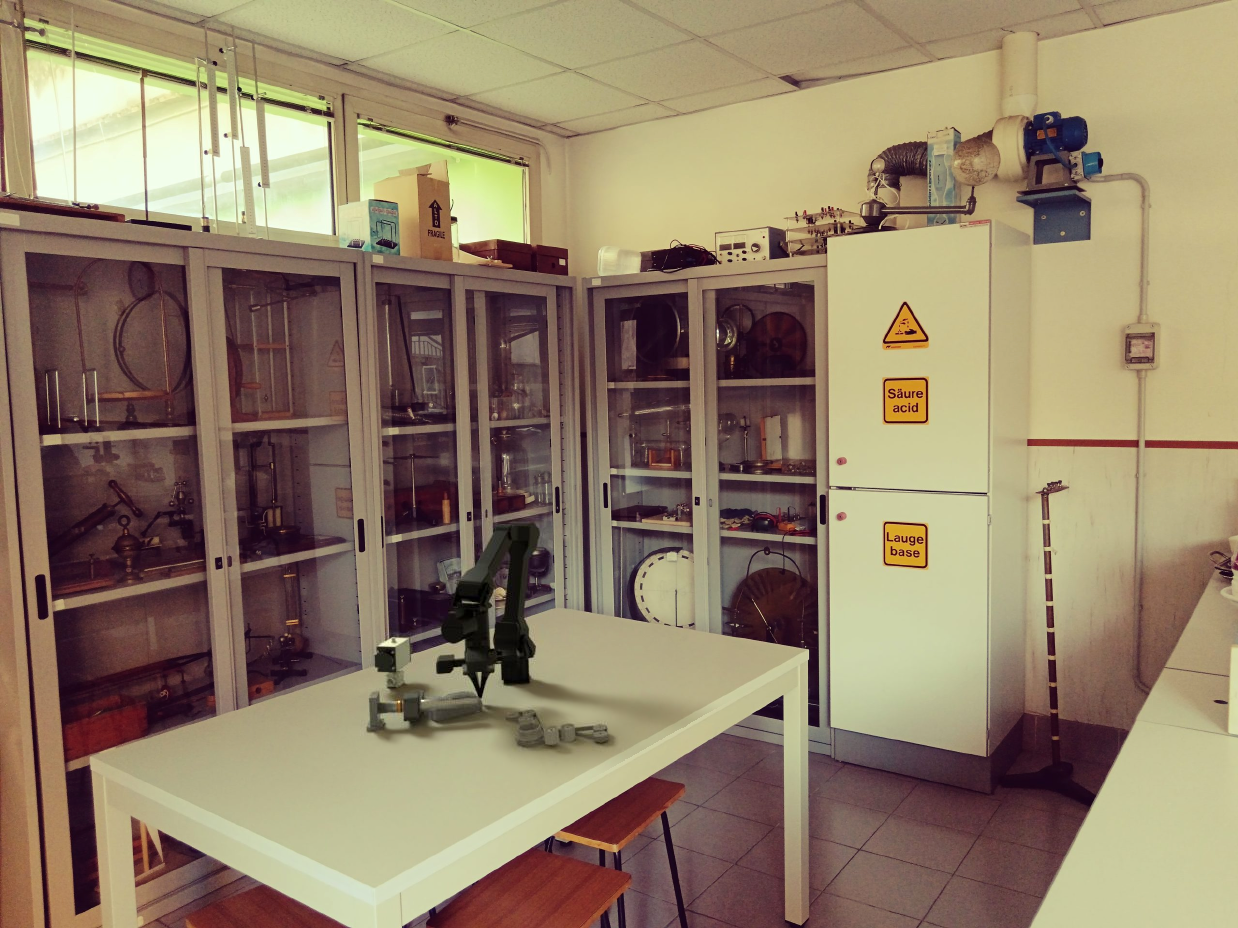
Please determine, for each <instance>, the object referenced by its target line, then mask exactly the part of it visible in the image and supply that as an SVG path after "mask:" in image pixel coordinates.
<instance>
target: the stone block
mask: <svg viewBox="0 0 1238 928" xmlns="http://www.w3.org/2000/svg"><path fill="white" fill-rule="evenodd" d="M474 696H477V697H478V695H477V693H475V692H473V691H470V690H463V691H457V692H451V693H447V694H446V695H444V696H440V695H439V696H431V697H430V696H429V697H428V696H427V697H424V698H425V699H424V700H426V699H442V698H458V697H474ZM483 707H484V705H483V700H482V699H480V698H479V697H478V708H464V709H448V710H433V711H422V712H423V715H425V716H427V717H428V718H429V719H431V720H432V721H433V722H437V721H444V720H449V719H453V718H459V717H463V716H468V715H473V714H476V713H480V712H482V709H483Z"/></svg>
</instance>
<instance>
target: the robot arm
mask: <svg viewBox="0 0 1238 928" xmlns="http://www.w3.org/2000/svg"><path fill="white" fill-rule="evenodd" d="M540 534H541V532H540V527H538V526H537V525H536V523H535V522H534V521H533V522H529V521H510V522H509V523H508V524H501V523H500V524H496V525H494V528H493V530H492V535H491V537H490V539H489V540H488V542H487V544H486V546H485V548H484V550H483V551H482V553H481V554H480V557H479V559H478V560H477V562H476V563H475V565H474V566H473V567H472V568H470V569H468V570H466V571H465V573H464V574H463V575H462V576H461V578H460V579H459V580H458V582H457V584H456V587H455V591H454V594H453V597H452V600H451V604H450V607H449V609H450V610H452V611H449V612H448V613H447V615H448V616H447V618H446V619H444V621H443V622H442V623H441V626H440V633H441V636H442V637H443V639H444V640H445V642H447V643H449V644H452V645H455V644H458V643H460V642H462V641H464V652H463V653H464V655H463V657H461V658H455V657H456V656H455V654H453V653H451V654H443V655H442V654H440V655H439V656H438V657H437V658H436V662H435V671H436V672H435V674H437V675H445V674H451V673H452V672H453V671H454V669H455V668H461V669H463V670H462V675H463V676H467V677H468V678H469V680H470V681H471V683H472V685H473V688H474V690H475V692H476V693H475V694H476V695H477V696H478V697H479V698H480V699H481V700H482V699H483V695H484V692H485V689H486V688H485V687H486V685H487V681H488V678H489V677H490V674H495V667H496V665H500V675H501V676H500V680H501V681H502V684H503V685H517V684H522V685H523V684H529V683H531V675H530V660H529V659H534V657H535V655H536V649H537V646H536V644H535V643H534V641H533V640H532V639H531V637H530V628H529V625H528V623H527V620H526V619H525V606H526V596H527V584H528V573H529V565H530V559H531V556H532V555H533V554H534V552H535V551H536V550H537V548H538V542H539V539H540ZM507 554H508V556H509V560H508V568H507V570H508V571H507V580H506V591H505V601H504V610H503V615H502V617H501V619H500V620H499V621H496V622H495V623H494V632H493V637H492V644H493V648H491V636H490V633H491V632H490V619H489V618H490V617H489V615H490V613H489V610H490V609H491V608H492V607H493V604H492V603H491V602H490V600H491V598H492V597H493V594H494V590H495V588H496V583H495V576H496V574H497V572H498V570H499V568H500V566H501V564H502V562H503V561H504V559H505V557H506V555H507ZM479 673H480V679H479V675H478V674H479Z"/></svg>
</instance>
